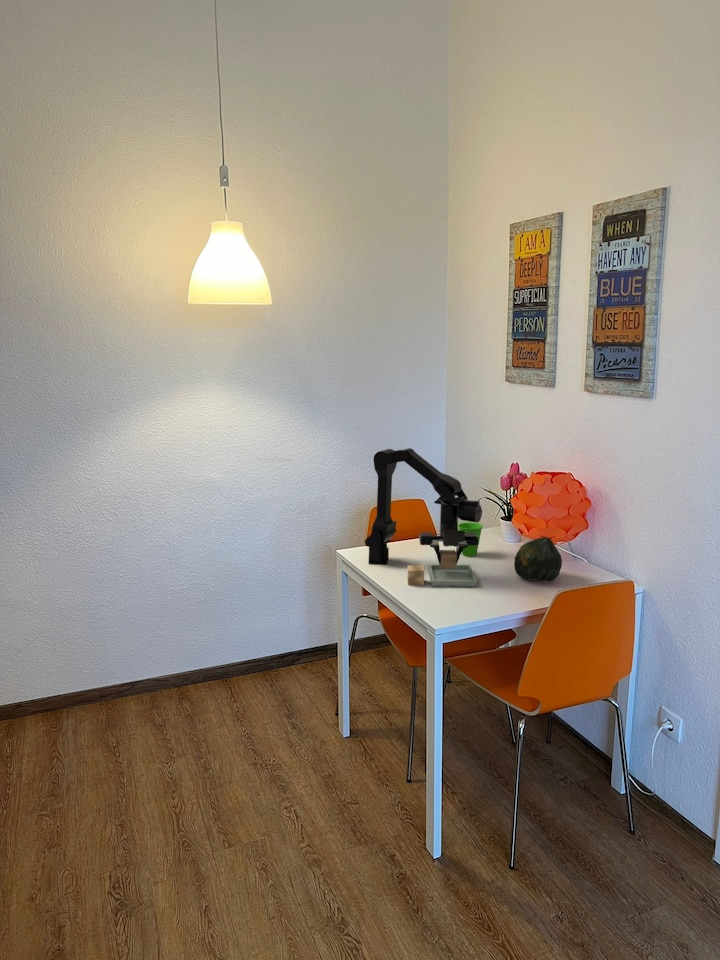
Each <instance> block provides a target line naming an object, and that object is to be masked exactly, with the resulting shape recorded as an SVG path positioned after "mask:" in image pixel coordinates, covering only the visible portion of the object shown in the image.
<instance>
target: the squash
mask: <svg viewBox="0 0 720 960" xmlns="http://www.w3.org/2000/svg"><path fill="white" fill-rule="evenodd" d="M513 564H514V570H515V573H516V574H517V575H518V577H520V578H521V579H525V580H527V581H532V580H535V581H547V582H551V581H554V580H556V579H557V578H558V577H559V574H560V571H561V569H562V566H563V565H562V564H563V560H562V555H561V553H560V552H559V549H558V548H557V546H556V545H555V544H554V542H553V540H552V538H550V537H549V536H548V537H547V536H542V537H538V538H535V539H533V540H531V541H528V542H526V543H524V544H522V545H521V546H520V548H519V549H518V550H517V553H516V554H515V556H514V563H513Z"/></svg>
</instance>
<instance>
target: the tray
mask: <svg viewBox="0 0 720 960" xmlns="http://www.w3.org/2000/svg"><path fill="white" fill-rule="evenodd" d="M427 566H428V570H427V571H428V574H429V578H430V583H431V587H432V588H477V587H478V581H477V578H476V575H475V573H474V571H473V568H472V566H471V564H456V569H441V568H440V564H428V565H427Z"/></svg>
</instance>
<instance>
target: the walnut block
mask: <svg viewBox="0 0 720 960" xmlns="http://www.w3.org/2000/svg"><path fill="white" fill-rule="evenodd" d="M440 559H441V562H440V564H439V565H440V568H441V569H456V565H457V564H456V562H457V554H456V550H455V549H440ZM457 563H458V562H457Z"/></svg>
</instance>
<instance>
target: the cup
mask: <svg viewBox="0 0 720 960" xmlns="http://www.w3.org/2000/svg"><path fill="white" fill-rule="evenodd" d="M483 528H484V526H483V524H481V523H480V522H478V523H477V522H470V521H465V522H460V523H459V522H458V531H465V533H475V534H476V535H477V537H478V545H468V544H467V545H468V547H467V548H464V549H463V551H462V553H461V554H462V556H463V557H466V558H473V557H476V556H477V554H478V551H479V550H478V548H479V544H480V539H481V535H482V530H483Z"/></svg>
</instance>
